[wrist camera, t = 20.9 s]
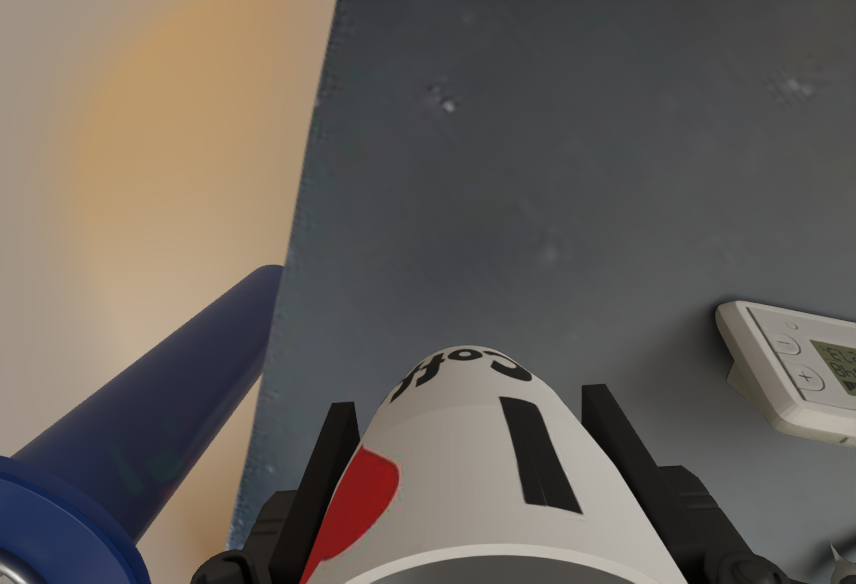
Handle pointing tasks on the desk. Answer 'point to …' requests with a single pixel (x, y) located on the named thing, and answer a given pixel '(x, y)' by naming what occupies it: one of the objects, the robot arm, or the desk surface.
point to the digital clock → (794, 369)
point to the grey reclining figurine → (841, 567)
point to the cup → (482, 489)
